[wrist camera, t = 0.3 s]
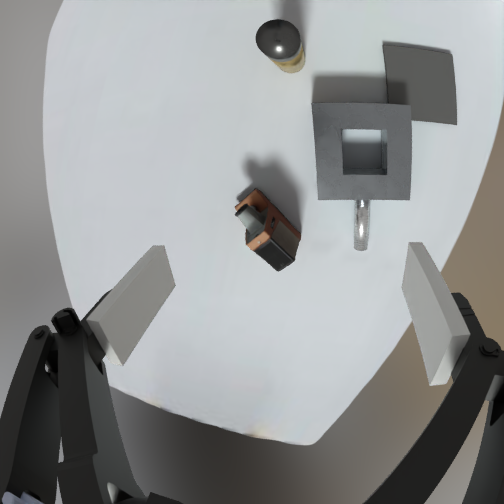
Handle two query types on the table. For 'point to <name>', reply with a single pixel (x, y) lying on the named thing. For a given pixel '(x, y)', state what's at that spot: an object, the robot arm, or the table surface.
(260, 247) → the electronic device
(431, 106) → the pad
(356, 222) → the block
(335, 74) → the table surface
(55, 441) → the robot arm
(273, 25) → the gold and black cylinder
